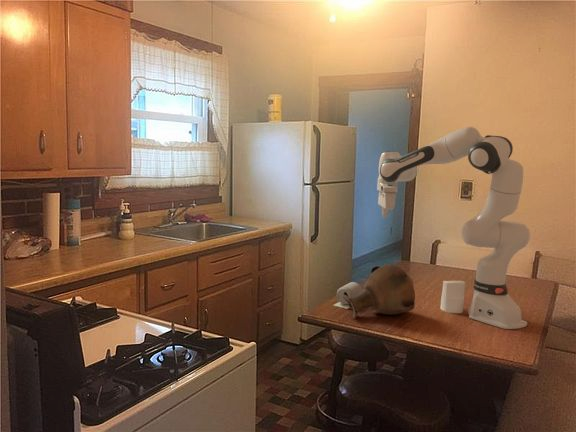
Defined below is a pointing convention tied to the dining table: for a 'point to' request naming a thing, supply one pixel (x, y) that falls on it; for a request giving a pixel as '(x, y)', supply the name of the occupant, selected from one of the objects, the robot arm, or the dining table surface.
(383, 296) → the jug
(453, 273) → the dining table surface
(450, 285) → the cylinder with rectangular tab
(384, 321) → the dining table surface
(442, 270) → the dining table surface
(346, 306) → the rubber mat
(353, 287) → the can
